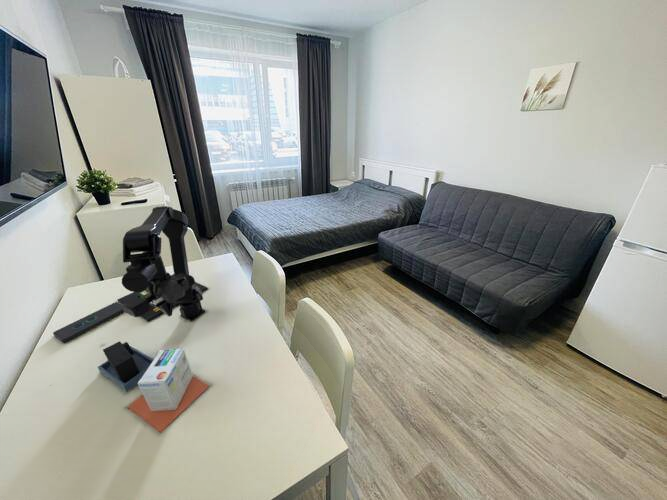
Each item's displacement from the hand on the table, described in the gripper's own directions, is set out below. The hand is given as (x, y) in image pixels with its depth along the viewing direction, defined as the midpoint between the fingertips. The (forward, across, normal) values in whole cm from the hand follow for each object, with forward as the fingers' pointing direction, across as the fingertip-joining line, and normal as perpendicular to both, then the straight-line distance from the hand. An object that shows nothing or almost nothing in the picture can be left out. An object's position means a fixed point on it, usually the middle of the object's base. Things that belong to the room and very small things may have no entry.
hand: (169, 315), depth 83 cm
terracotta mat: (+13, -13, -14) cm, 23 cm away
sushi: (+13, +17, +34) cm, 40 cm away
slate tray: (+13, -13, +6) cm, 19 cm away
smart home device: (+13, -6, +41) cm, 44 cm away
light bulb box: (+13, -12, -14) cm, 22 cm away
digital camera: (+12, -13, +6) cm, 19 cm away
